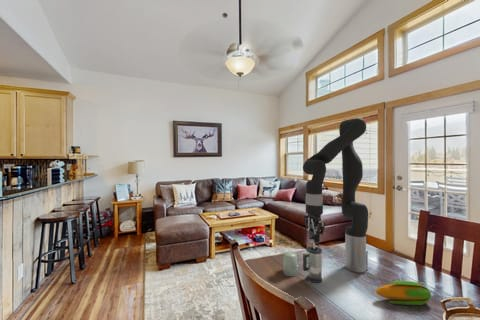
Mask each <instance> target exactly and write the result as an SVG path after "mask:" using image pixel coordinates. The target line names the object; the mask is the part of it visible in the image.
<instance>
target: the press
mask: <svg viewBox="0 0 480 320" xmlns="http://www.w3.org/2000/svg"><path fill="white" fill-rule="evenodd" d="M305 251H306V252H305V253H303V254H302V270H303V271H304V272H306V280H307V281H308V282H310V283H312V284H315V285H316V284H322V283H323V278H322V276H323V273H322V272H323V270H322V269H323V268H322V267H323V249H322V248H321V247H320V246H316V245H315V250H313V245H310V246H309V245H308V246H307V247H306V249H305Z"/></svg>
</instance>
